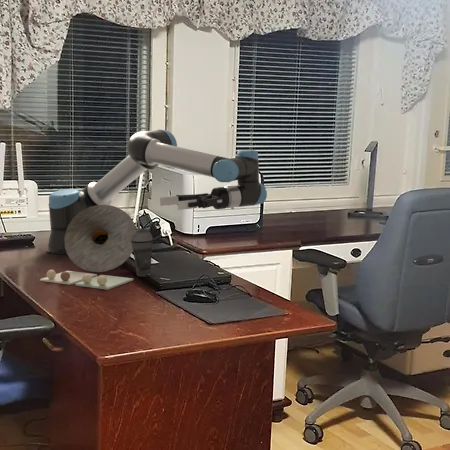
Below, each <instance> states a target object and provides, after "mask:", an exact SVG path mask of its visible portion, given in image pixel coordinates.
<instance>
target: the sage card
mask: <svg viewBox="0 0 450 450" xmlns="http://www.w3.org/2000/svg"><path fill="white" fill-rule="evenodd" d="M132 281H134V278H133V277H132V278H131V277H123V276H116V275H115V276H114V275H108V274H100V275H97V276H96V277H93V278H92V277H91V275H89V274H85V275H84V276H83V277H82V281H80V282H77V283H74V284H75V286H77V287H82V288H83V287H85V288H93V289H100V290H107V291H108V290H111V289H114V288H116V287H119V286H121V285H124V284H127V283H129V282H132Z"/></svg>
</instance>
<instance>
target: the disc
mask: <svg viewBox="0 0 450 450" xmlns="http://www.w3.org/2000/svg"><path fill="white" fill-rule="evenodd" d="M136 230H137V227H136V225H135V222H134V221H133V219H132V217H131V216H130V215H129V214H128V213H127V212H126V211H124V210H123V209H122V208H119V207H117V206H115V205H111V204H110V205H96V206H92V207H89V208H87V209H85V210H83V211H81V212H80V213H78V214H77V215H76V216H75V217H74V218H73V219H72V221H71V222H70V223H69V225H68V227H67V230H66V233H65V239H64V243H65V249H66V252H67V255H68V258H69V260H70V261H71V262H72V263H73V264H74V265H76V266H77V267H78V268H81V269H83V270H85V271H87V272H90V273H91V272H93V273H104V272H108V271H110V270H111V271H112V270H114V269H116V268H118V267H120V266H122V264H124V263H125V262H126V261H127V260H128V259H129V258H130V256H132V254H133V253H134V252H133V247H132V242H131V238H132V234H133V233H134V232H135V231H136Z"/></svg>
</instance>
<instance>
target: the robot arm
mask: <svg viewBox="0 0 450 450" xmlns="http://www.w3.org/2000/svg"><path fill="white" fill-rule="evenodd" d="M176 139H177V138H175V135H174V134H173V133H172V132H170V131H169V130H166V129H157V130H145V131H143V130H141V131H138V132H136V133H134V134H133V135H131V137H130V138H128V140H127V141H128V142H127V147H126V149H127V153H128V155H127V156H126V157H125V158H124V159H122V161H120V162H119V163H117V165H115V167H113V168H112V169H111V170H110V171H108V172H107V173H106V174H105V175H104V176H103V177H101V179H99V180H98V181H97V182H96V181H92V182H90V183H89V184H87V186H85V187H84V188H82V190H78V189H77V188H65V189H61V190H60V189H58V190H56V191H53V192H52V193H50V195H49V196H48V209H49V210H48V211H49V222H50V223H49V224H50V235H49V239H48V243H47V253H49V252H51V253H50V254H54V253H57V254H56V255H65V254H67V252H66V249H65V243H64V239H65V233H66V230H67V227H68V225H69V223H70V222H71V221H72V219H73V218H74V217H75V216H76V215H77V214H78V213H80V212H81V211H83V210H85V209H87V208H89V207H92V206H96V205H111V204H112V199H113V198H114V197H115V196H117V195H118V194H119V193H120V192H121V191H123V190H124V189H125V188H126V187H127V186H129V185H130V184H131V183H132V182H133V181H135V180H136V179H137V178H139V176H141V175H142V174H144V172H146V171H147V170H149V171H153V170H154V169H156V168H157V167H158V166H163V167H168V168H172V169H176V170H181V171H185V172H189V173H193V174H196V175H197V174H198V175H200V176H201V175H202V176H205V177H209V178H213V179H215V180H216V181H218V182H219V183H231V182H235V181H237V185H228V186H220V187H214V188H212V189H211V191H210V193H209V192H205V193H198V194H197V193H196V194H176V195H174V196H165V197H159V205H160V206H161V207H163V206H171V205H172V206H173V205H177V210H179V211H181V210H189V209H190V210H191V209H201V208H202V209H207V208H210V207H212V208H214V209H215V210H224V209H231V210H234V209H235V208H240V207H249V206H256V205H261V204H264V203H265V202H266V200H267V197H268V196H267V195H268V192H267V190H266V185H264V184H263V183H261V182H260V172H259V171H260V167H259V166H260V165H259V162H260V161H259V153H258V151H257V150H254V149H246V150H245V149H243V150H238V151H237V152H236V157H234V158H233V157H231V158H229V157H225V156H220V155H215V154H212V153H206V152H203V151H198V150H194V149H190V148H189V149H188V148H184V147H180V146H178V143H177V140H176ZM67 255H68V254H67Z"/></svg>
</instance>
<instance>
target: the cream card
mask: <svg viewBox="0 0 450 450" xmlns="http://www.w3.org/2000/svg"><path fill="white" fill-rule="evenodd" d="M85 274H89V275H91V277H92V278H94V277H97V276H98V274H97V273H91V272H83V271H71V270H65V271H61V272H59V273H56V271H55V269H49V270H47V272H46V277H42V278H40V279H39V281H40V282H46V283H53V284H60V285H61V284H62V285H69V286H70V285H74V284H75V283H78V282H81V281H82V277H83V276H84V275H85Z"/></svg>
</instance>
